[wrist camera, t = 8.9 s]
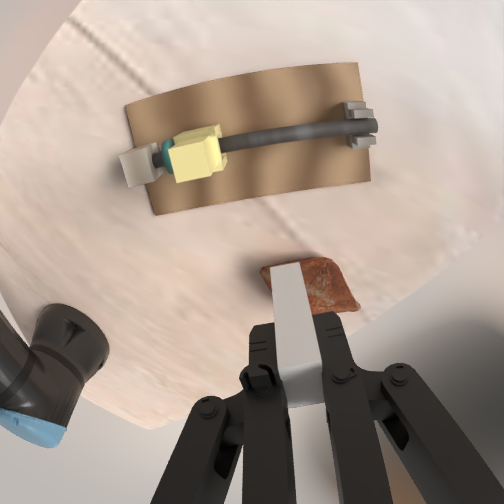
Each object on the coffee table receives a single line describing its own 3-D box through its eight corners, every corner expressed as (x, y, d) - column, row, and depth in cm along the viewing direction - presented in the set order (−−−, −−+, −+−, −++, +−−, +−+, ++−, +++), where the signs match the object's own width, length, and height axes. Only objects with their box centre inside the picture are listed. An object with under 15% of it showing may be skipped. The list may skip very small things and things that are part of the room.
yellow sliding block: (192, 168, 32) (172, 190, 25) (183, 131, 30) (160, 144, 23) (227, 161, 32) (218, 181, 25) (219, 123, 30) (207, 132, 23)
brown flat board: (157, 213, 37) (143, 232, 32) (127, 105, 30) (106, 108, 25) (369, 179, 34) (385, 193, 29) (355, 62, 27) (372, 58, 23)
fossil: (240, 273, 36) (295, 318, 29) (284, 218, 37) (347, 250, 30) (288, 311, 45) (336, 349, 38) (323, 267, 46) (374, 299, 38)
